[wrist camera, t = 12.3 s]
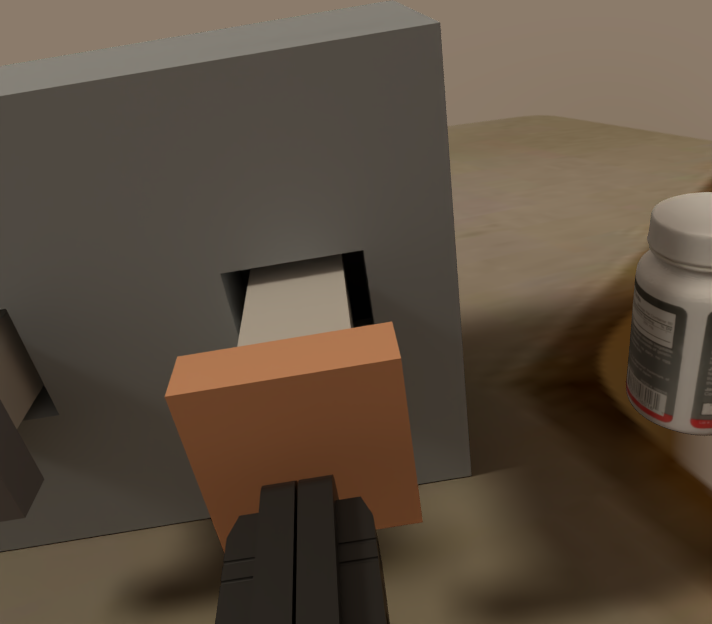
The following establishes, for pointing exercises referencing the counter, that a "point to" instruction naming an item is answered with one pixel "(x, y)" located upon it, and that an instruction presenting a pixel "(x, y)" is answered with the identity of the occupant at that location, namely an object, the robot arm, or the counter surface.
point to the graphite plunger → (16, 423)
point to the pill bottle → (674, 318)
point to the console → (216, 237)
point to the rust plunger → (298, 401)
